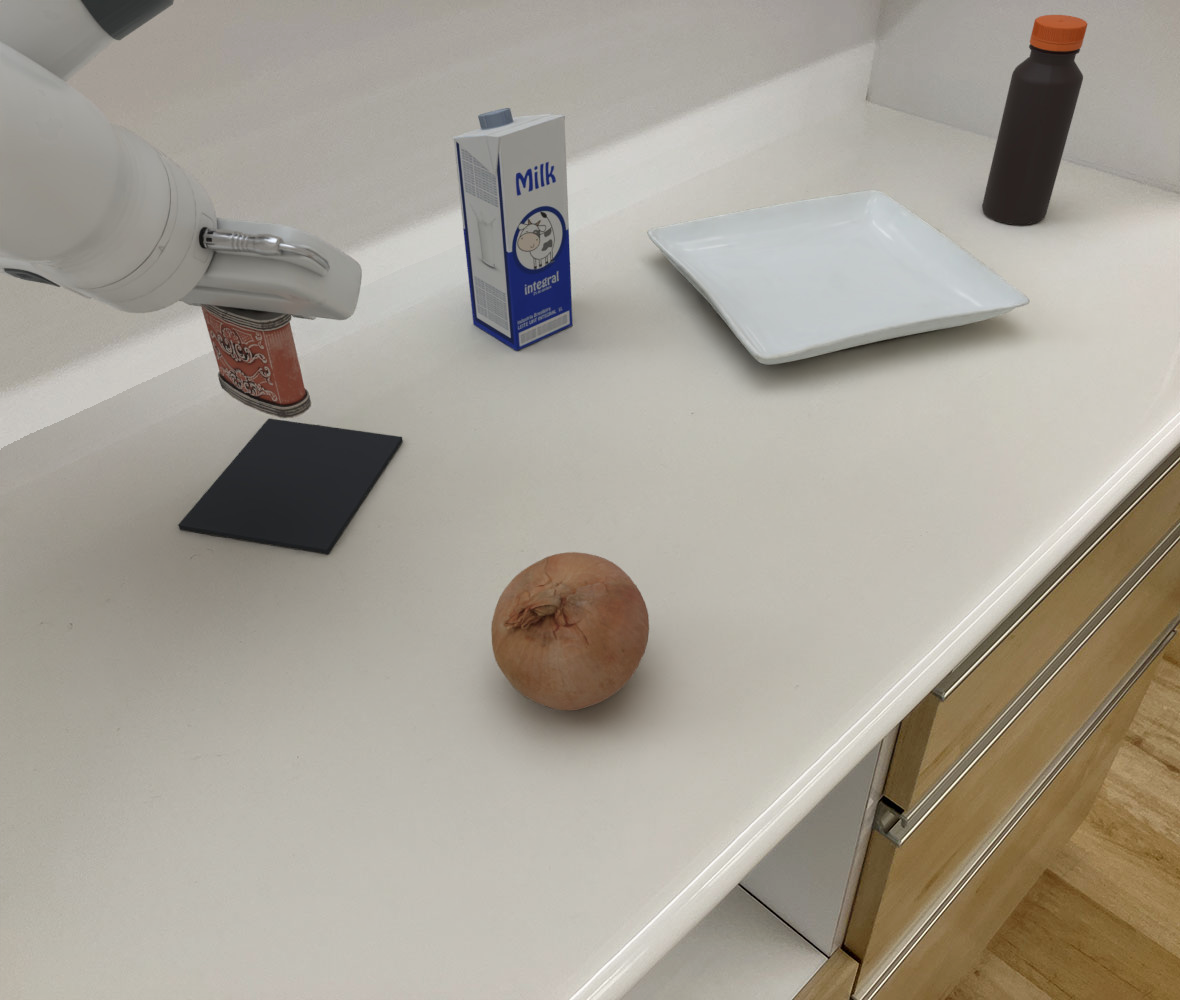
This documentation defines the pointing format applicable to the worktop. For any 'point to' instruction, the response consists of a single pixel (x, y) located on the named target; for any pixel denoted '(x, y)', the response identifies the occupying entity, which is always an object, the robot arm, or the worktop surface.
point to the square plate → (832, 274)
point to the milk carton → (516, 225)
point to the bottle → (1036, 123)
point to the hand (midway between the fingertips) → (255, 301)
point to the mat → (293, 486)
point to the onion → (570, 630)
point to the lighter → (257, 359)
